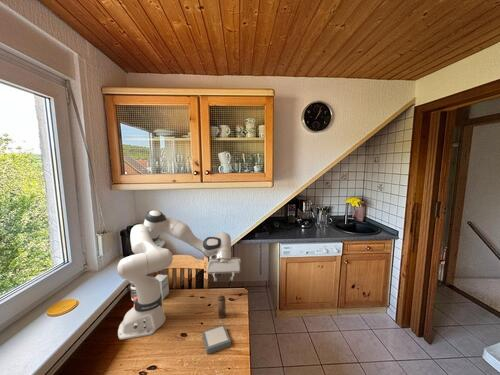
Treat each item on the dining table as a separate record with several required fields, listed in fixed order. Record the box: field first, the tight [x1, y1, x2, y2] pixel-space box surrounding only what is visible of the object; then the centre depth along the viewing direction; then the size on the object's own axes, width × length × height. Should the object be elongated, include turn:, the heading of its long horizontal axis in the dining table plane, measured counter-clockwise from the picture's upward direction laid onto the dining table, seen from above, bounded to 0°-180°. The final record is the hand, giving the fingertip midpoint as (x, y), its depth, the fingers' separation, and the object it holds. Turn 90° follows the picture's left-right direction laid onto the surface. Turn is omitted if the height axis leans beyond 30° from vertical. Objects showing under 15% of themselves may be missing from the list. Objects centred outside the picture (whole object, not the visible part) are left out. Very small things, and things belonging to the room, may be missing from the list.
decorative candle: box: [129, 281, 137, 301], centre depth 137 cm, size 9×9×25 cm
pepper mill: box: [217, 295, 227, 319], centre depth 120 cm, size 4×4×11 cm
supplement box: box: [154, 274, 170, 301], centre depth 138 cm, size 7×7×13 cm
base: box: [201, 324, 232, 355], centre depth 104 cm, size 11×11×3 cm
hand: (223, 280), depth 129 cm, fingers open, 8 cm apart
